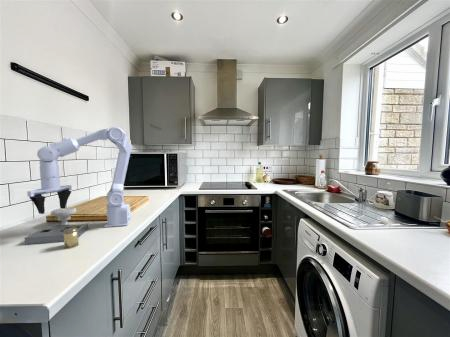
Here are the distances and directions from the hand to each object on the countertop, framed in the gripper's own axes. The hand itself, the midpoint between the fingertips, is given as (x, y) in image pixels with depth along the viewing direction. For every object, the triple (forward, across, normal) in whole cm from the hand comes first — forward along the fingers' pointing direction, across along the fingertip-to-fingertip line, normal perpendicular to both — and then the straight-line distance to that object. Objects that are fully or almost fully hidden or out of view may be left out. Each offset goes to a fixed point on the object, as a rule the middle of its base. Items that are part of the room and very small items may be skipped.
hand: (52, 210), depth 83 cm
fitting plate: (+10, 0, +4) cm, 11 cm away
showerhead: (+10, -10, -10) cm, 17 cm away
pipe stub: (+10, +5, +17) cm, 21 cm away
